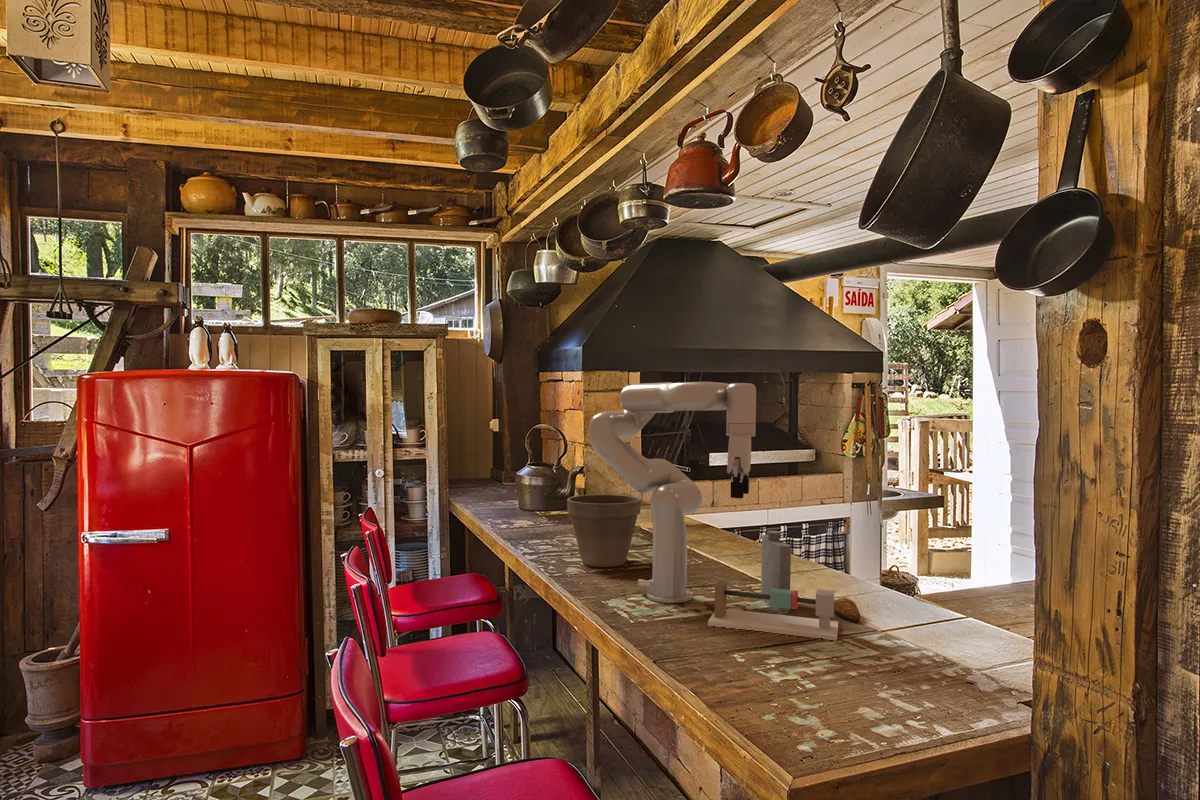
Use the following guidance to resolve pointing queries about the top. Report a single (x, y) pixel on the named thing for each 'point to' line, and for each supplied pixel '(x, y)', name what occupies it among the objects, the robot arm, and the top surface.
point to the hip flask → (775, 565)
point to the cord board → (777, 622)
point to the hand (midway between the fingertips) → (739, 495)
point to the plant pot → (604, 527)
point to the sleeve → (780, 598)
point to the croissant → (846, 609)
